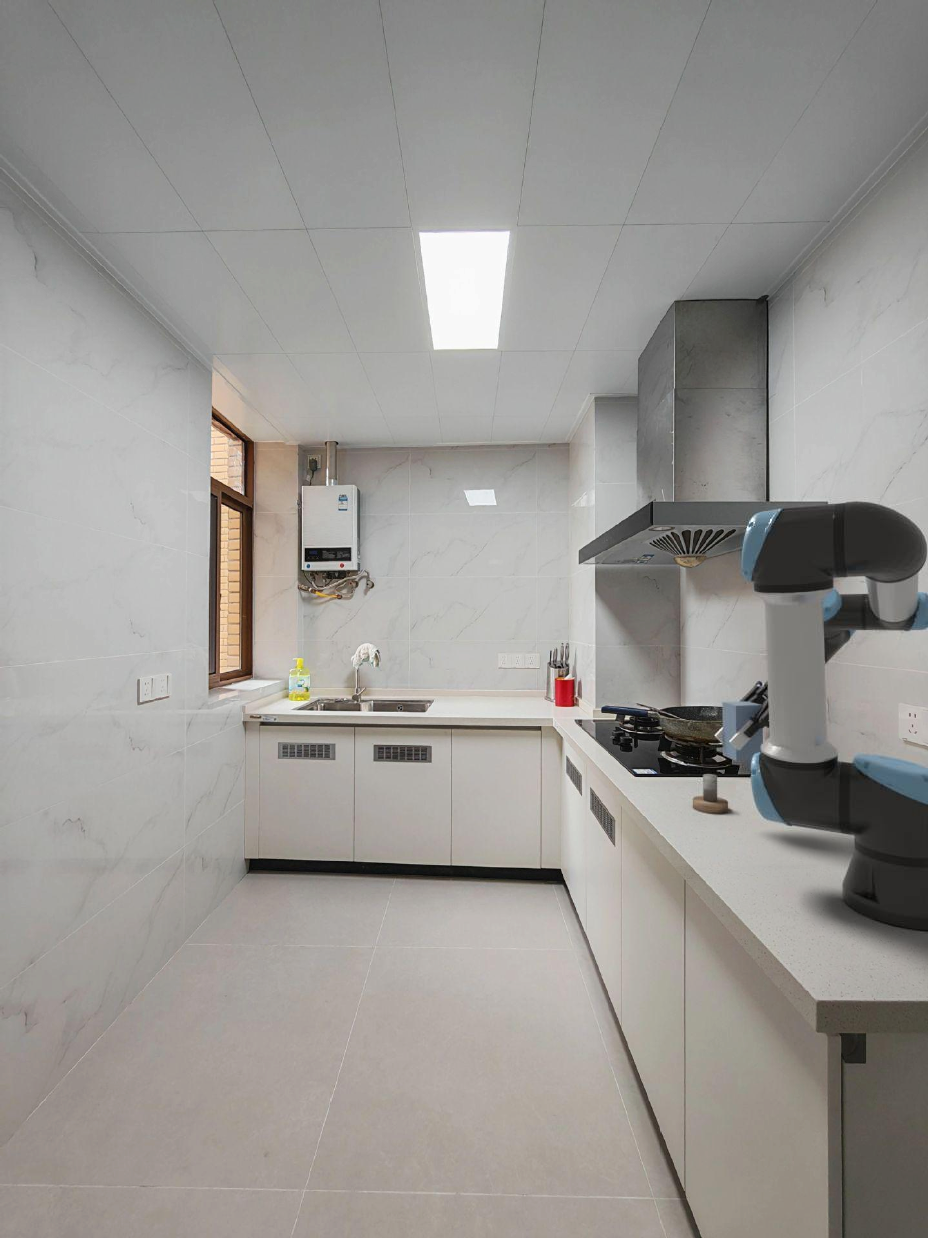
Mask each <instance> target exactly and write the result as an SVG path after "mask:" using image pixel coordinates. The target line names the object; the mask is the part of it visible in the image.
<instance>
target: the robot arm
mask: <svg viewBox="0 0 928 1238" xmlns="http://www.w3.org/2000/svg"><path fill="white" fill-rule="evenodd" d="M927 543H928V542H927V540H926V538H925V535H924V534H923V531H921V529H920V528H919V526H918V525H916V524H915V523H914V522H913V521H912V520H911V519H910V518H909V517H907V516H905V515H904V514H903V513H900V512H899V511H897V510H895V509H893V508H890V507H888V506H885V505H882V504H877V503H873V502H869V501H868V502H867V501H847V502H841V503H840V502H839V503H829V504H820V505H819V504H818V505H817V504H816V505H808V506H807V505H806V506H798V507H797V506H796V507H795V506H794V507H786V508H785V507H780V508H776V509H771V510H766V511H760V512H758V513H755V514H754V515H753V516H752V517H751V518H750V519H749V522H748V524H747V527H746V529H745V533H744V537H743V542H742V549H741V550H742V551H741V565H740V566H741V570H742V571H741V573H742V578H743V580H744V581H746V582H749V583H752V582H753V593H754V594H755V595H756V596H758V598H760V599H761V600H762V602H764V603H763V604H764V621H765V623H764V624H765V646H766V647H765V648H766V649H765V650H766V669H767V670H766V673H767V680H766V682H762V680H758V681H757V682H756V683H755V684H754V685H753V687H752V688H751V689H750V690H749V691H748V692H747V693H746V695H744V696H743V697H742V698H741V699H740V700H739V701H738V702H752V703H756V704H760V705H763V707H762V708H761V709H760V710H759V711H758V712H757V714H756V715H755V716H752V717H750V718H751V719H752V720H753V721H754V722H752V721H751V720H748V722H747V723H746V724H745V725H744V726H743V727H742V728H741V729H740V730H739V731H738V732H737V733H736V734H735V735H734V736H733V737H732V739H731V740H730V741H729V742H730V743H731V744H732V745H733V746H734V747H735V748H736V749H737V750H740V749H741V748H742V747H743V746H744V745H745V744H746V743H747V742H748V741H749V740H750V739H751V738H752V737H753V736H754V734H755V733H756V732H757V731H758V730H759V729H760V728H761V729H762V728H763V729H764V728H765V727H766V729H769V737H768V738H767V739H766V740H764V741H763V743H762V744H761V752H758V753H755V754H754V755H753V757H752V761H750V774H751V775H750V785H751V792H752V797H753V802H754V804H755V808H756V809H757V811H758V813H759V815H761V816H762V817H763V818H764V819H765V820H766V821H770V822H774V823H779V824H783V825H785V826H787V827H799V828H805V829H812V830H819V831H825V832H830V833H836V834H843V835H849V836H853V837H854V852H853V854H852V858H851V860H850V862H849V865H848V868H847V870H846V872H845V876H844V878H843V880H842V886H841V887H842V888H841V889H842V890H841V892H842V894H841V895H842V900H843V901H844V903H845V904H846V905H847V906H848V907H850V908H851V909H853V910H854V911H856V912H858V913H860V914H861V915H864V916H866V917H868V918H870V919H873V920H876V921H879V922H882V923H886V924H889V925H893V926H897V927H901V928H906V929H912V930H922V931H928V767H925V766H923V765H920V764H918V763H915V762H911V761H908V760H903V759H901V758H896V757H892V756H885V755H880V754H871V753H870V754H868V753H859V754H856V755H854V757H853V759H852V762H849V761H847V762H846V761H841V760H840V761H839V760H838V755H839V753H838V750H837V748H836V747H835V746H834V745H833V744H832V743H831V742H829V741H828V738H827V737H828V734H827V733H828V732H827V731H828V730H827V729H828V728H827V701H826V700H827V697H826V664H827V663H829V661H830V660H831V659H832V658H833V657H834V656H835V655H836V654H837V653H838V652H839V651H840V650H841V649H842V648H843V647H844V645H845V644H847V643H848V642H849V641H850V640H851V638H852V637H853V636H854V634H855V633H856V631H899V632H901V631H904V632H911V631H923V630H927V629H928V593H927V592H919V572H920V571H921V570H922V569H923V568H924V566H925V564H926V561H927V558H928V544H927ZM852 577H854V578H855V577H865V583H866V589H867V593H847V594H846V593H843V594H842V593H840V592H839V591H838V590H837V589H836V588H835V587H834V579H836V578H852ZM714 736H715V738H716V739H717V740H718V741H719V742H720V743H721V744H722V745H723V726H722V727H721V728H720V729H719V730H718V731H717V732H716V733H715V734H714Z"/></svg>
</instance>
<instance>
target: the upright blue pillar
mask: <svg viewBox="0 0 928 1238" xmlns="http://www.w3.org/2000/svg"><path fill="white" fill-rule="evenodd" d="M721 707H722V727H723V744H722V755H723V756H724V757H726V758H729V759H731V760H732V761H735V762H751V761H752V757H753V755H754V754H755V753H758V752H761V744H762V743H764V728H762V729H761V728H760V729H759V730H758V731H757V732H756V733H755V734H754V736H753V737H752V738H751V739H750V740H749V741H748V742H747V743H746V744H745V745H744V746H743V747H742V748H741V749H740V750H737V749H736V748H735V747H734V746H733V745H732V744H731V743H730V742H729V741H730V740H731V739H732V737H733V736H734V735H735V734H736V733H737V732H738V731H739V730H740V729H741V728H742V727H743V726H744V725H745V724H746V723H747V722H748V720H751V721H752V722H754V721H753V720H752V719H751V718H750V717H752V716H755V715H756V714H757V712H758V711H759V710H760V709H761V708H762V707H763V705H760V704H756V703H752V702H739V701H722V705H721Z"/></svg>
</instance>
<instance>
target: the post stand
mask: <svg viewBox="0 0 928 1238" xmlns="http://www.w3.org/2000/svg"><path fill="white" fill-rule="evenodd" d="M692 808H693V810H696V811H697V812H701V813H706V814H714V815H716V814H717V815H719V814H726V813H728V812H729V801H728V800H727V799H724V798H722V797H719V796H718V775H716V774H712V773H705V774H703V775H702V795H696V796H693V798H692Z"/></svg>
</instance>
